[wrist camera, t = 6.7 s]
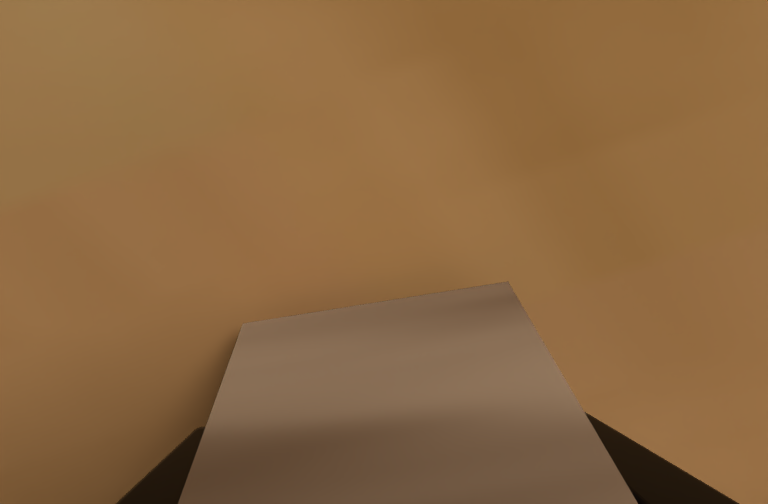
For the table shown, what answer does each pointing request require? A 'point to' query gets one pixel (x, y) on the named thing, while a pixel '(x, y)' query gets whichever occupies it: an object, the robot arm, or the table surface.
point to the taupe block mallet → (401, 411)
